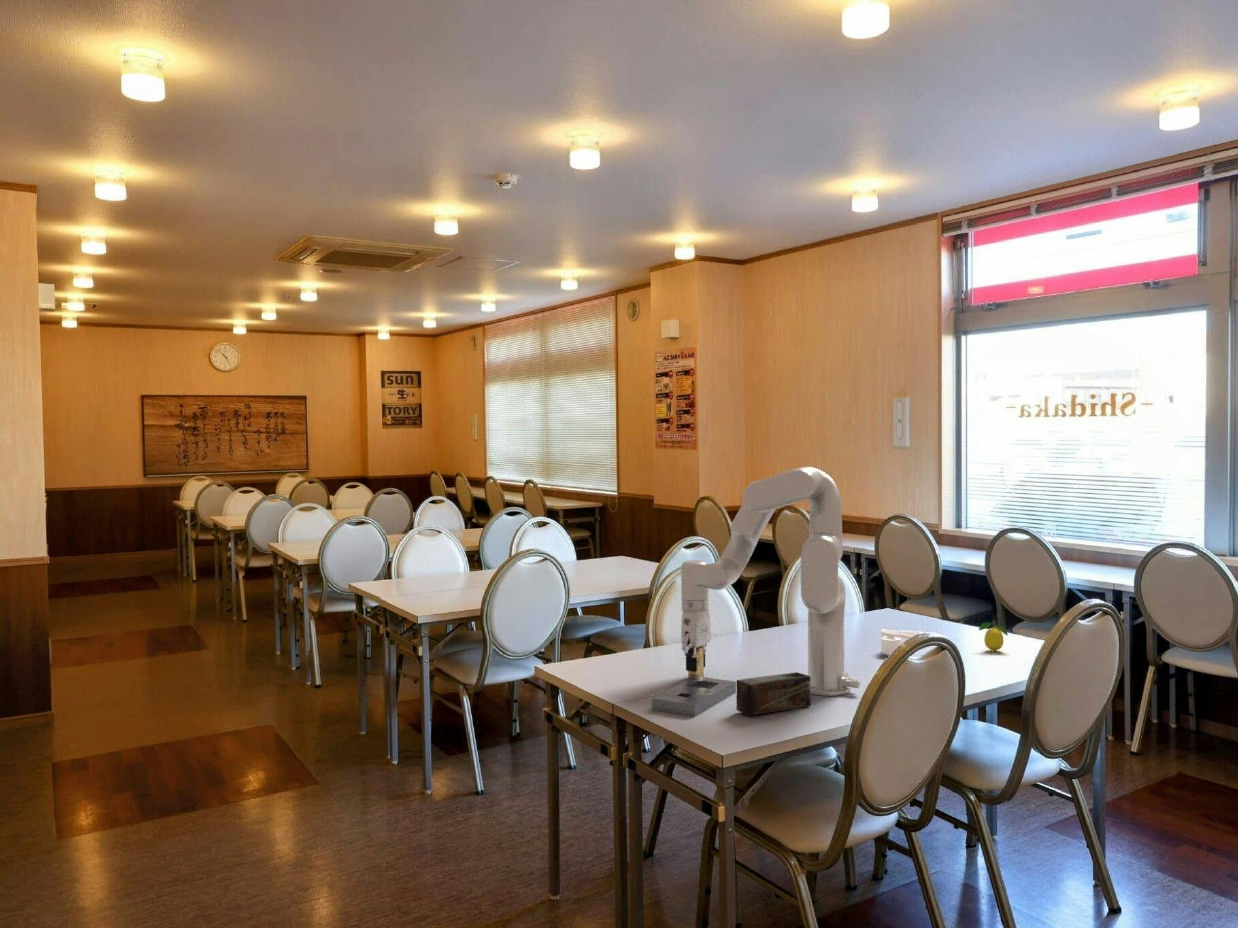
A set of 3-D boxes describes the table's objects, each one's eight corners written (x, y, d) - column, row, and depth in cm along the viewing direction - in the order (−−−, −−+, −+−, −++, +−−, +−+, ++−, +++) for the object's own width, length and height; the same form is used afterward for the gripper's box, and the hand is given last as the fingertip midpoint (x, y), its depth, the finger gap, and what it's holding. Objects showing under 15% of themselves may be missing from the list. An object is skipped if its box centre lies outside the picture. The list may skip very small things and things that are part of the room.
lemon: (978, 651, 284) (978, 619, 284) (987, 648, 288) (987, 616, 288) (999, 655, 279) (999, 622, 279) (1008, 652, 283) (1008, 620, 283)
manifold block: (735, 692, 243) (735, 681, 243) (694, 717, 223) (694, 704, 223) (695, 686, 250) (695, 675, 249) (651, 709, 229) (651, 698, 229)
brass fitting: (706, 677, 259) (705, 645, 259) (699, 680, 255) (698, 648, 255) (692, 675, 262) (692, 643, 261) (685, 678, 258) (684, 647, 258)
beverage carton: (797, 702, 234) (813, 707, 228) (734, 711, 226) (749, 717, 220) (796, 671, 235) (813, 675, 229) (733, 679, 226) (748, 683, 220)
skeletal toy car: (873, 656, 281) (873, 632, 281) (891, 649, 289) (891, 626, 289) (934, 667, 267) (934, 642, 267) (952, 660, 275) (952, 636, 274)
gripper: (693, 611, 249) (693, 677, 249) (719, 600, 263) (720, 663, 264) (668, 608, 253) (669, 674, 253) (696, 598, 267) (697, 660, 268)
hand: (695, 668), depth 258 cm, fingers closed on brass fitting, 4 cm apart
